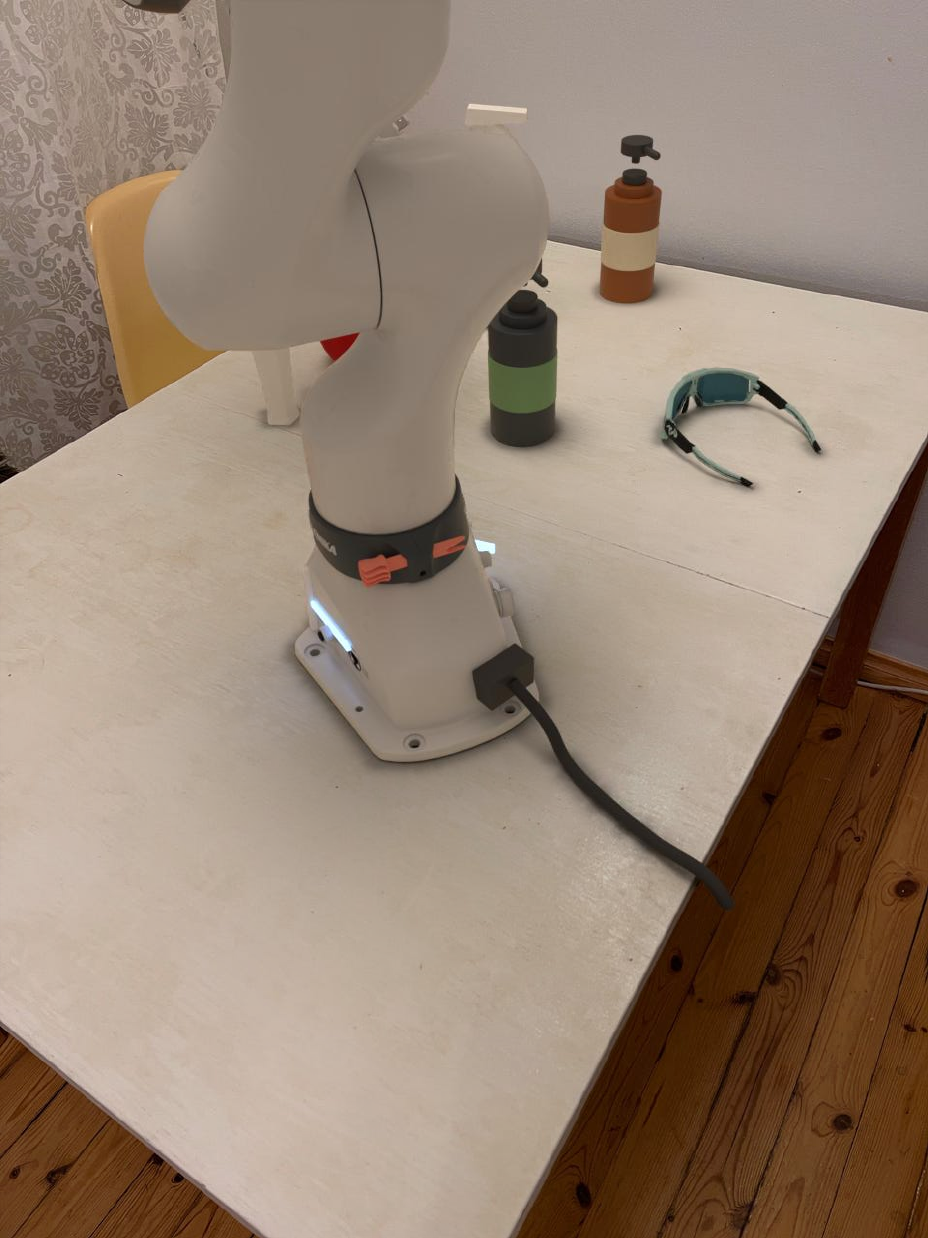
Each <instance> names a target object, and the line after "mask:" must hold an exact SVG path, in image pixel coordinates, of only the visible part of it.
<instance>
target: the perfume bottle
mask: <svg viewBox="0 0 928 1238" xmlns="http://www.w3.org/2000/svg"><path fill="white" fill-rule="evenodd" d="M251 352H252V356H253V359H254V364H255V367H256V370H257V375H258V378H259V381H260V384H261V388H262V392H263V396H264V399H265V403H266V406H267V407H266V418H267V424H268V425H270V426H290V425H292V424H293V423H294V422H295V421H296V420H297V419H298V418H300V414H301V411H300V410H299V408H298V406H297V404H296V402H295V392H294V384H293V383H294V382H293V372H292V371H293V370H292V363H291V352H290V347H289V348H285V349H280V350H259V351H251Z"/></svg>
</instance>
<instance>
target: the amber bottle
mask: <svg viewBox="0 0 928 1238" xmlns="http://www.w3.org/2000/svg"><path fill="white" fill-rule="evenodd" d="M613 183H614V184H612V185H610V186H608V187H607V188H606V189H605V191H604V204H603V221H602V227H601V229H602V230H601V248H600V272H599V273H600V274H599V275H600V276H599V295H600V296H601V297H602V298H603V299H604V300H606V301H609V302H613V303H618V304H637V303H641V302H644V301H646V300H648V299H650V298H651V296H652V295H653V292H654V291H653V290H654V280H655V279H654V278H655V270H656V269H655V268H656V262H657V254H658V246H659V245H658V244H659V233H660V224H661V223H660V217H661V206H662V196H663V191H662V189H661V188H660V187H659V186H658V185H655V182H654V180H653V179H652V178H651V177H649V176H648V171H646V170H645V169H642V168H627V169H625V170H623V171H622V174H621V176H620V177H618V178H616V179H615V180H614V182H613Z"/></svg>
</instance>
